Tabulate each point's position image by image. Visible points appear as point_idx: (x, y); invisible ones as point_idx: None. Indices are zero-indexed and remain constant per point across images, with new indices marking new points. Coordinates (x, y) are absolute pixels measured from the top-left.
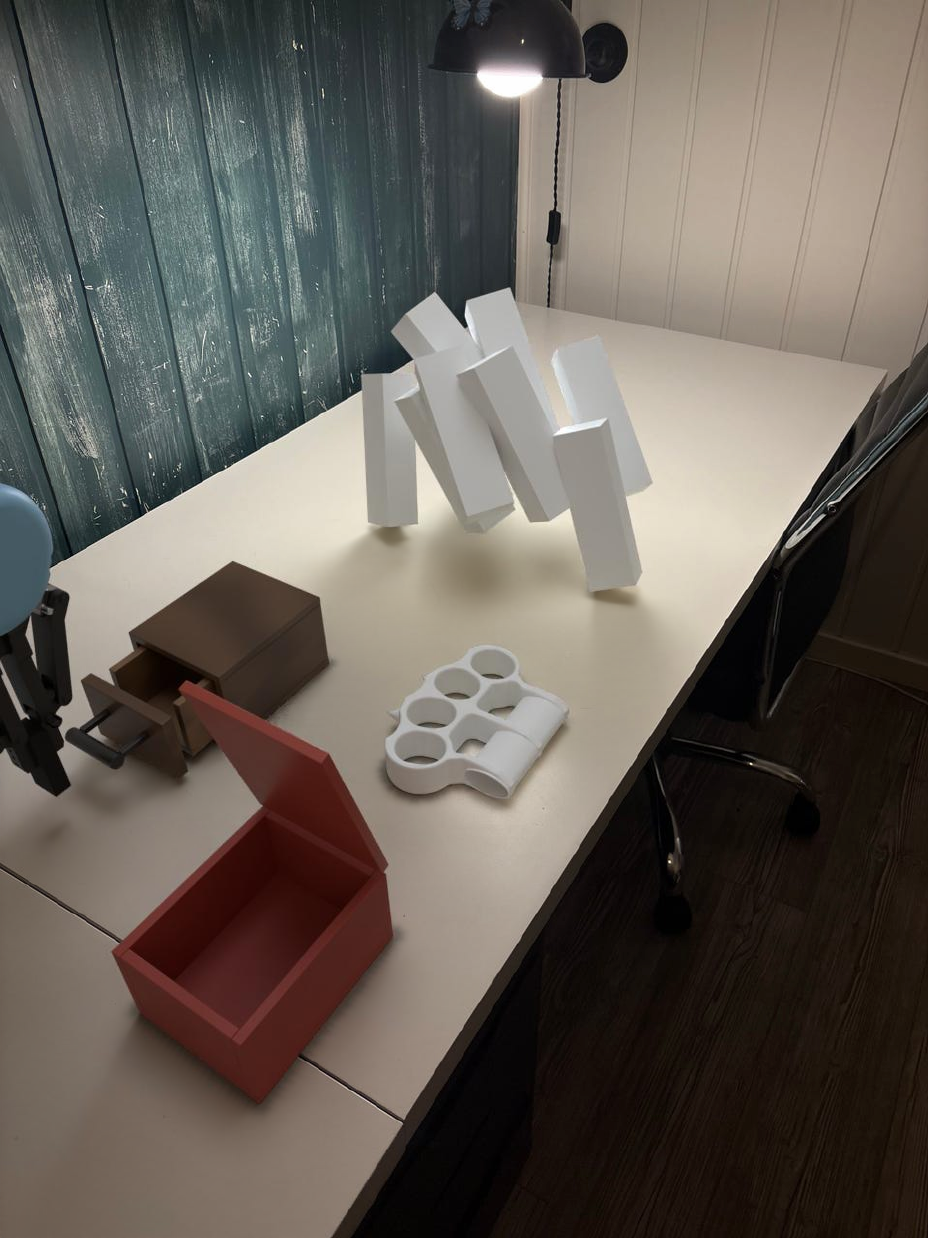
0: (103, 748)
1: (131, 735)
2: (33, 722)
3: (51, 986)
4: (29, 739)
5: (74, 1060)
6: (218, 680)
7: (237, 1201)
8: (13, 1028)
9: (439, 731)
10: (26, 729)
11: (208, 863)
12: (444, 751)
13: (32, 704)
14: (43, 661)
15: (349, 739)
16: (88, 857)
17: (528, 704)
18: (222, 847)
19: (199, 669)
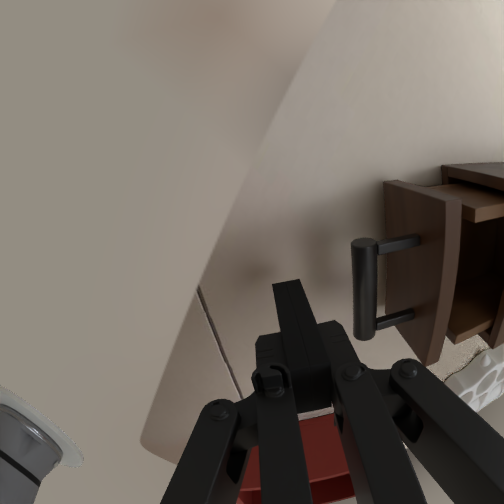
0: (369, 319)
1: (404, 269)
2: (330, 380)
3: (186, 394)
4: (297, 407)
5: (182, 427)
6: (490, 346)
7: None
8: (156, 398)
9: (474, 397)
10: (309, 389)
11: (312, 480)
12: (463, 398)
13: (345, 451)
14: (443, 454)
15: (465, 342)
16: (266, 324)
17: (495, 394)
18: (329, 476)
19: (500, 322)
